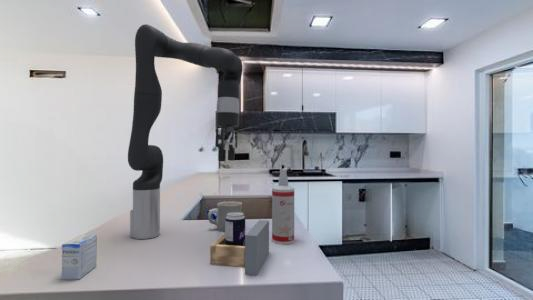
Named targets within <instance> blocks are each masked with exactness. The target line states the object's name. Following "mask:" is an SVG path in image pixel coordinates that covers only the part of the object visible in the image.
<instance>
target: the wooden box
mask: <svg viewBox="0 0 533 300" xmlns="http://www.w3.org/2000/svg"><path fill="white" fill-rule="evenodd" d="M209 251H210V252H209V253H210V254H209V255H210V256H209V257H210V258H209V259H210V265H217V266H229V267H241V268H245V246H235V245H225V234H222V235H221V236H220V237H219V238H218V239H217V240H216V241H214V242H213V243H212V244H210V250H209Z"/></svg>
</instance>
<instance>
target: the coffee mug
mask: <svg viewBox="0 0 533 300" xmlns="http://www.w3.org/2000/svg"><path fill="white" fill-rule="evenodd" d="M216 207H217V208H211V209H210V210H209V211H208V214H207V219H208V222H209V223H210V224H212V225H215V226H216V230H217V231H219V232H223V233H225V218H226V216H227V213H229V212H242V213H243V203H242V202H241V201H240V202H239V201H221V202H218V203H217V204H216ZM213 214H216V218H215V219H213V218H212V215H213Z"/></svg>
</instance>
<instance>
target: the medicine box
mask: <svg viewBox="0 0 533 300" xmlns="http://www.w3.org/2000/svg"><path fill="white" fill-rule="evenodd" d="M97 238H98V236H97V235H96V234H80V235H78V236H75V237H74V238H72V239H70V240H68V241H67V242H64V243H62V245H61V280H63V281H66V280H67V281H71V280H72V281H73V280H81V279H82V278H83V277H85V276H86V275H88V273H90V271H92V270H93V269H94V268H96V267H97V258H98V257H97V255H98V253H97V250H98V249H97V247H98V243H97V242H98V239H97Z"/></svg>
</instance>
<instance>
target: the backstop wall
mask: <svg viewBox="0 0 533 300" xmlns="http://www.w3.org/2000/svg"><path fill="white" fill-rule="evenodd" d="M269 254H270V220H265V219H259V220H258V221H257V222H256V223H255V224H254V225H253V226H252V227H251V228H250V229H249V231H248V232H247V233H245V267H244V275H245V276H255V277H256V276H258V275H259V273H260V271H261V269H262V267H263V266H264V263H265V262H266V260H267V258H268V256H269Z"/></svg>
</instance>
